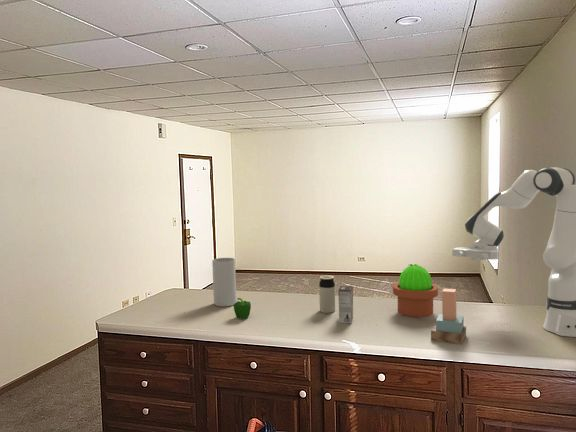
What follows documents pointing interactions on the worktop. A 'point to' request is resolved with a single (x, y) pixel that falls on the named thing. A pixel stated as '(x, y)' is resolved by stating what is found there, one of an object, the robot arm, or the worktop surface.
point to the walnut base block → (448, 336)
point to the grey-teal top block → (450, 324)
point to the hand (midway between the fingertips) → (472, 255)
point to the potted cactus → (415, 292)
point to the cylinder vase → (224, 281)
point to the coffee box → (345, 304)
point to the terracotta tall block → (449, 304)
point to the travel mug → (327, 294)
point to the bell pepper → (242, 309)
